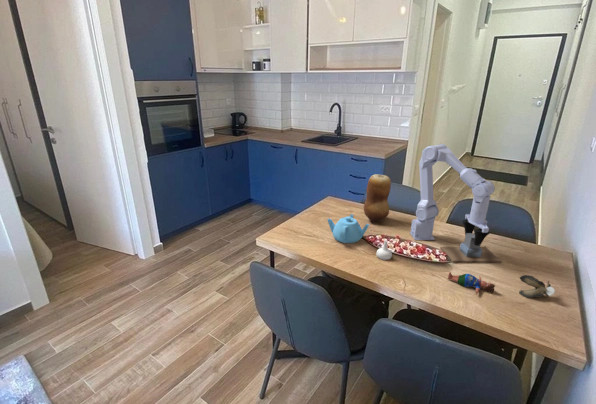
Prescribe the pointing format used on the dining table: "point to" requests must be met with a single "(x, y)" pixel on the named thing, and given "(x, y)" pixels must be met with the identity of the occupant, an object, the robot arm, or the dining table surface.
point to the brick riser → (470, 255)
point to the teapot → (347, 229)
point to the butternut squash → (377, 197)
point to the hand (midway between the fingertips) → (472, 240)
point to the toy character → (472, 282)
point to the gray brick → (470, 241)
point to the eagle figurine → (536, 287)
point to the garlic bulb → (384, 252)
